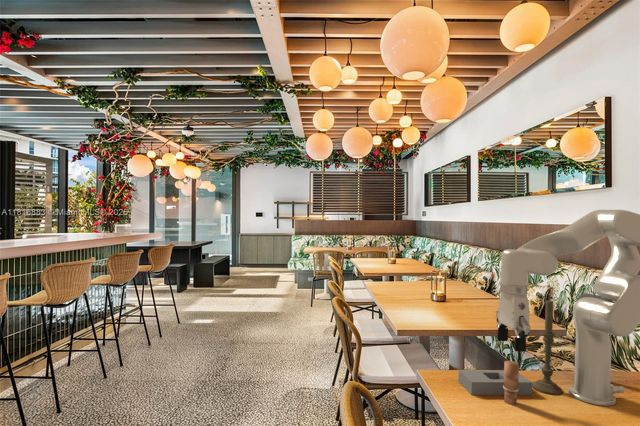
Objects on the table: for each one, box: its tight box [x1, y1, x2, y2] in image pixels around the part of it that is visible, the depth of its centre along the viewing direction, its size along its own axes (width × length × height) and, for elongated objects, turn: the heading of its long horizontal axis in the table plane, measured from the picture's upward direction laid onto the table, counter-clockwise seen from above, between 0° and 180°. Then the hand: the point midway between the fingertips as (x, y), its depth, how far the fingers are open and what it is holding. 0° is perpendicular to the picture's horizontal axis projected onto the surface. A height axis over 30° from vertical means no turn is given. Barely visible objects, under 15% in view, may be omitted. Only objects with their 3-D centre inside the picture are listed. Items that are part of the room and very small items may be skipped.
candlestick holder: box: [532, 299, 563, 396], centre depth 134 cm, size 9×9×30 cm
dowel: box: [503, 360, 520, 406], centre depth 123 cm, size 4×4×12 cm
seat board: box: [457, 369, 533, 396], centre depth 133 cm, size 20×10×4 cm, turn 94°
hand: (510, 345), depth 123 cm, fingers open, 9 cm apart
